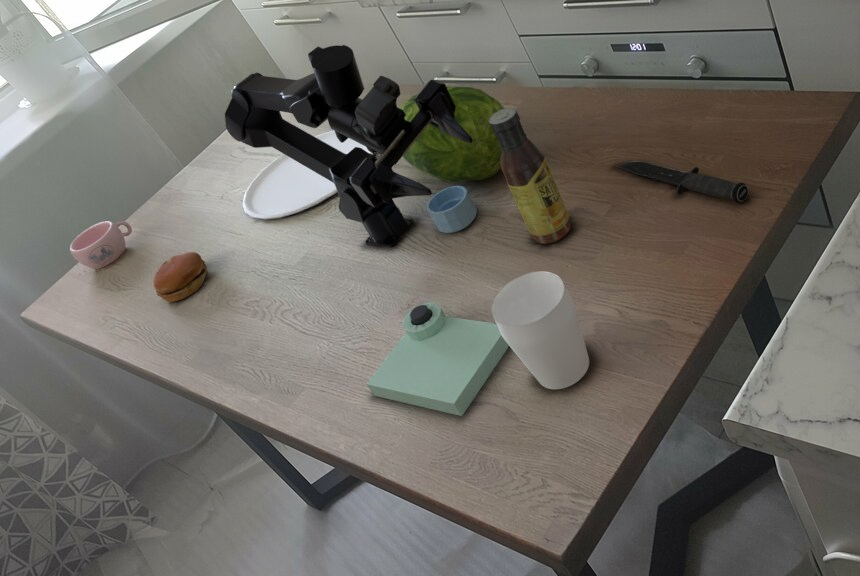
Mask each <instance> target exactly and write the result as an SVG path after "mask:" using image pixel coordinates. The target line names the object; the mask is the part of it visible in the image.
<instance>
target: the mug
mask: <svg viewBox="0 0 860 576" xmlns="http://www.w3.org/2000/svg"><path fill="white" fill-rule="evenodd" d="M120 226H124V227H126V229H127V231H126V232H122V230H121V229H120V228H119V227H120ZM132 231H133V228H132V226H131V224H130V223H129V222H127V221H123V220H121V221H118V222H116V223H114V222H112V221H109V220H108V221H101V222H99V223H96V224H94V225H92V226H90V227H89V228H87V229H85V230H83V231H82V232H81V233H80V234H79V235H77V236H76V238H75V239H74V240H73V241H72V242H71V243H70V248H69V250H70V251H69V252H70V254H71V256H72V257H73V258H74V259H75V260H76V261H77V262H78V263H80V264H81V265H83V266H85V267H87V268H89V269H95V270H96V269H101V268H103V267H106V266H107V265H110V264H111V263H113V262H114V261H116V260H117V259H119V257H120V256H121V255H123V253H124V251H125V250H126V246H127V245H126V239H125V237H128V236H130V235H131V234H132Z"/></svg>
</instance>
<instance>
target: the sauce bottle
mask: <svg viewBox="0 0 860 576" xmlns="http://www.w3.org/2000/svg"><path fill="white" fill-rule="evenodd" d="M489 124H490V127H491V129H492V130H493V131H494V132H495V134H496V137H497V139H498V141H499V145H500V147H501V148H502V154H501V156H500V157H501V158H500V164H501V169H500V170H501V171H502V173H503V176H504V177H505V180H506V184H507V186H508V188H509V191H510V193H511V195H512V197H513V199H514V201H515V203H516V207H517V208H518V210H519V212H520V215H521V218H522V219H523V221H524V223H525V226H526V228H527V230H528V232H529V234H531V236H532V239H533V240H534V241H535V242H536V243H537V244H541V245H548V244H552V243H556V242H558V241H559V240H561V239H563V238H565V236H567V234H568V233H569V231H571V228H572V224H571V220H570V214H569V211H568V210H567V207H566V205H565V202H564V199H563V197H562V195H561V192H560V190H559V187H558V185H557V183H556V180H555V178H554V175H553V173H552V170H551V168H550V166H549V163H548V161H547V158H546V156H545V155H544V154H543V152H542V151H541V150H540V149H539V148H538V147H537V146H536V145H535V144H534V143H533V142H532V141H531V140H530V139H529V138H528V136H527V133H525V130H524V128H523V125H522V123H521V117H520V115H519V113H518V111H517V110H516V109H515V108H514V107H504V109H502V110H500V111H498V112H496V113H494V114H493V115H492V116H491V117H490V118H489Z"/></svg>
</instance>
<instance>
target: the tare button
mask: <svg viewBox="0 0 860 576" xmlns="http://www.w3.org/2000/svg"><path fill="white" fill-rule="evenodd" d="M418 305H419V306H418ZM418 305H417V306H415V307H414V308H412V309H413V310H412V309H411V310H412V311H411V310H410V311H411V313H410V318H411V319H412V321H413V322H414V324H415V325H418V326H419V325H422V324H424V323H426V322H427V321H429V320H430V318H431V316H432V314H431V312H430V311H429V309H428V307H427V306H425V305H421V304H418Z"/></svg>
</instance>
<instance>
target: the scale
mask: <svg viewBox="0 0 860 576" xmlns="http://www.w3.org/2000/svg"><path fill="white" fill-rule="evenodd" d="M419 305H425V306H427V307H428V309H429V311H430V312H431V314H432V316H431V318H430V320H429V321H427V322H426V323H424V324H422V325H419V326H418V325H415V324H414V322H413V321H412V319H411V318H410V313H411V311H412V310H413V309H414V308H412V309H411V310H409V312H408V313H407V314H406V316H404V318H403V320H402V321H403V322H402V328H403V329H404V331H405V333H404V334H403V336H402V338H401V339H400V340H399V341H398V343H397V344H396V345H395V346H394V348H393V349H391V352H390V353H389V354H388V355H387V357H386V358H385V359H384V361H382V363H381V365H379V367H378V369H376V371H375V372H374V373H373V375H372V376H371V377H370V379H369V380H368V381H367V383H366V386H367V387H368V389H369V390H370V392H371V393H372V395H374V397H378V398H382V399H387V400H391V401H395V402H399V403H404V404H409V405H413V406H417V407H421V408H424V409H429V410H433V411H437V412H442V413H446V414H451V415H455V416H459V417H463V416H464V414H465V413H466V411H467V410H468V408H469V407H470V406H471V404H472V403H473V401H474V399H475V398H476V397H477V395H478V393H479V392H480V390H481V389H482V387H483V386H484V384H485V383H486V381H487V380H488V378H489V377H490V376H491V374H492V372H493V371H494V370H495V369H496V367H497V366H498V363H499V362H500V361H501V359H502V358H503V356H504V354H505V353H506V352H507V350H508V349H509V347H510V346H509V345H508V343H507V342H506V341H505V340H504V338H503V337H502V335H501V333H500V331H499V328H498V326H497V324H496V322H495V323H494V322H487V321H480V320H473V319H466V318H459V317H454V316H447V315H446V313H445V312H444V310H443V308H442V307H441V305H440V304H439V303H437V302H431V301H428V302H425V303H421V304H418V305H417V306H419Z"/></svg>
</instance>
